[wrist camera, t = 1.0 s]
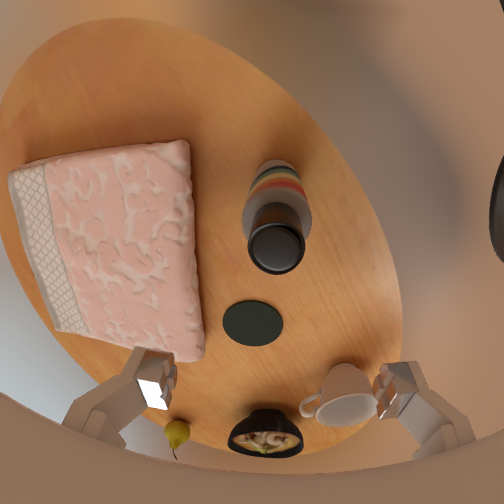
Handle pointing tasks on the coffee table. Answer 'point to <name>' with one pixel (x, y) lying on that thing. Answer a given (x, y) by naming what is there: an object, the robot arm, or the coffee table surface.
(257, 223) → the lotion bottle
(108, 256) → the towel
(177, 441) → the fruit
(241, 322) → the coaster
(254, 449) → the bowl
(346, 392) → the teacup
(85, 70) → the coffee table surface
